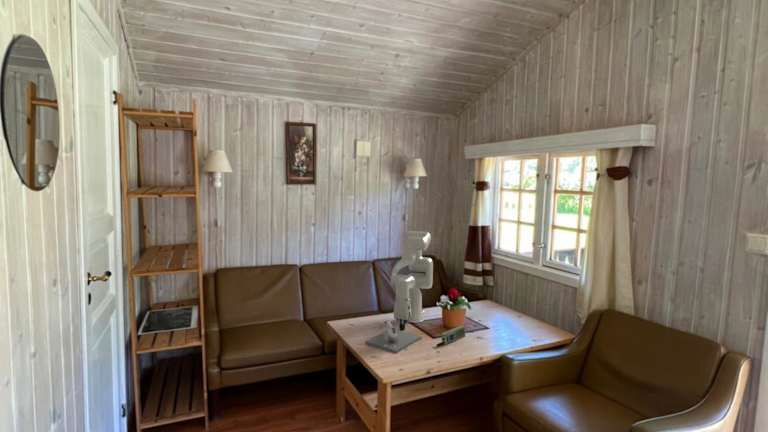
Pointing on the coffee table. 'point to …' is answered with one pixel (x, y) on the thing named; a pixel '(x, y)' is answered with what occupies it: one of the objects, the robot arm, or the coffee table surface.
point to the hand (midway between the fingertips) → (402, 330)
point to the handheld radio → (452, 335)
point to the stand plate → (402, 342)
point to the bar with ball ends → (391, 332)
